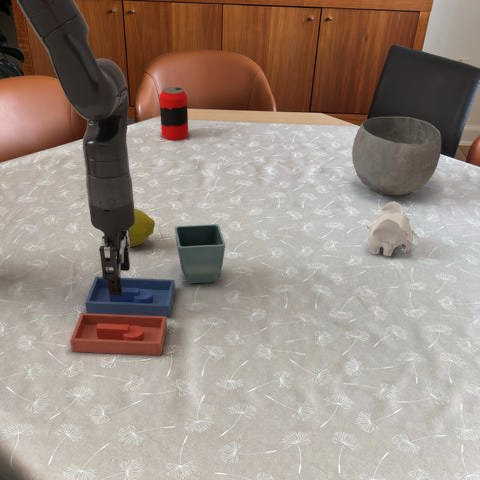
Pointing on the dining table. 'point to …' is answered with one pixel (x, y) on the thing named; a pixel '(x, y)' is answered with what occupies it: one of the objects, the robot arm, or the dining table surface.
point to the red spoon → (120, 332)
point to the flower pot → (200, 252)
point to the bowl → (396, 154)
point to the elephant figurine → (390, 230)
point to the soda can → (174, 113)
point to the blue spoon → (133, 296)
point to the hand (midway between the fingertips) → (120, 281)
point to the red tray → (88, 341)
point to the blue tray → (160, 306)
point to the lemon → (141, 228)
